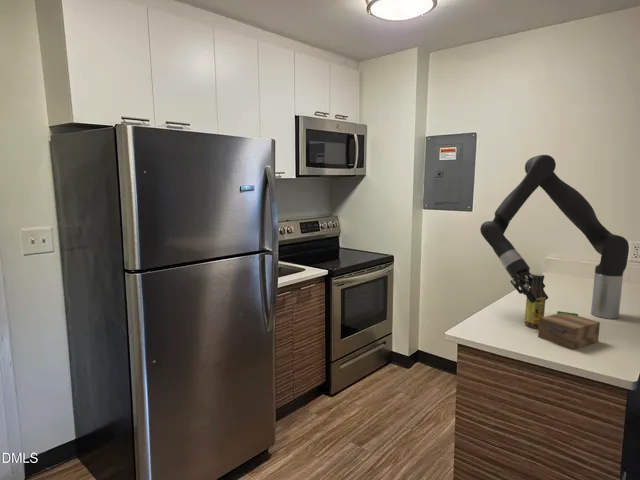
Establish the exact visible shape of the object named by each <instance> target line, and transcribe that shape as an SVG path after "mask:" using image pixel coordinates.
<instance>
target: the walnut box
mask: <svg viewBox="0 0 640 480" xmlns="http://www.w3.org/2000/svg"><path fill="white" fill-rule="evenodd" d="M562 312H563V313H559V314H557V313H555V314H551V315H547V316H544V317H541V318H540V319H539V328H538V333H537V334H538V335H537V338H539V339H543V340H545V341H547V342H551V343H553V344H556V345H559V346H562V347H564V348H566V349H570V350H576V349H579V348H583V347H586V346H589V345H592V344H597V343H599V335H600V327H601V326H600V325H601V323H600V321H597V320H594V319H590V318H586V317H583V316H580V315H578V316H576V315H573V314H569V313H570V312H568V313H566V312H567V311H562Z"/></svg>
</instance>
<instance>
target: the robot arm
mask: <svg viewBox="0 0 640 480" xmlns="http://www.w3.org/2000/svg"><path fill="white" fill-rule="evenodd" d="M556 165H557V164H556V160H555V158H554V157H552V156H551V155H547V154H541V155H540V154H539V155H536V156H533V157H531V158H529V159H528V160H527V161H526V162H525V165H524V171H525V173H526V175H525V176H524V177H523V179H522V180H521V182H520V183H519V184H518V185H517V186H516V187H515V188H514V189H513V190H512V191H511V192H510V193H509V194H508V195H507V196H506V197H505V198H504V199H503V200H502V202H501V203H500V205H498V208H497V209H496V210H495V212H494V218H493V220H488V221H487V220H486V221H485V222H483V223H482V224H481V225H480V231H479V232H480V234H481V235H482V237H483V239H484V240H485V241H486V242H487V243H488V245H489V246H490V247H491V248H492V250H493V252H494V253H495V255H496V256H497V257H498V259H499V261H500V262H501V265H502V266H503V267H504V269H505V270H506V272H507V274H509V276H510V278H511V280H510V281H509V282H510V283H511V285H512V286H513V287H514V288H515V290H516V292H518V294H520V295H522V294H523V296H525V297H526V299H527V298H528V299H529V301H530V302H531V303H534V302H535V301H536V300H537V299H536V298H535V297H534V295H533V294H532V292H530V287H531V286H532V274H533V273H531V272H530V270H531V267H530V266H529V264H528V263H527V262H526V261H525V259H524V258H523V257H522V255H521V254H520V253H519V251H518V250H517V249H516V248H515V247H514V246H513V243H512V242H510V240H509V239H507V237H506V236H505V232H506V230H507V229H508V226H509V224H510V222H511V221H512V220H513V218H514V217H515V216H516V214H517V213H518V212H519V210H520V209H521V208H522V207H523V205H524V204H525V203H526V201H528V199H529V198H530V196H532V194H533V193H534V192H535V191H536V190H537V189H538V188H541V189H542V190H543V191H544V192H545V194H547V196H549V198H550V200H551V201H552V202H553V203H554V204H555V205H556V207H557V208H558V209H559V211H561V212H562V213H563V215H565V217H566V218H567V219H569V221H570V222H571V223H572V224H573V225H574V226H575V227H576V228H577V229H579V231H581V232H582V234H583V235H584V236H585V237H586V239H587V240H588V242H589V243H590V244H591V246H592V248H594V250H595V251H596V252H597V253H598V254H599V255H601V256H600V261H599V264H597V265H595V267H594V268H595V269H594V276H593V277H594V278H593V287H592V300H591V308H590V309H591V310H590V314H591V315H592V316H595V317H598V318H603V319H609V320H610V319H611V320H615V319H619V316H620V309H621V300H622V299H621V298H622V289H623V280H624V279H623V278H624V272H625V270H626V268H627V265H628V259H629V251H630V246H629V245H630V244H629V241H628V240H627V239H626V238H625V237H624V236H621V235H619V234H618V235H617V234H615V233H614V234H613V233H612V232H610V231H609V230H608V229H607V228H606V227H605V226H604V225H603V224H602V223H601V222H600V220H599V219H598V217H597V214H596V212H595V210H594V208H593V207H592V205H591V203H589V200H587V198H585V197H584V196H583V195H582V194H581V193H580V192H579V191H578V190H576V188H574V187H573V186H571V185H569V184H568V183H567V182H565V181H563V180H562V179H561V178H560V177H559V176H558V175H557V174H556V173H555V170H556ZM545 287H546V284H545V283H544V282H543V289H545ZM545 296H546V300H545V301H547V300H548V299H549V296H548V293H546V292H545Z"/></svg>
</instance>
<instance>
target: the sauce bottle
mask: <svg viewBox="0 0 640 480" xmlns="http://www.w3.org/2000/svg"><path fill="white" fill-rule="evenodd" d="M531 274H532V286H531V287H529V289H530V292H532V294H533V295H534V297H535V298H536V299H537V300H536V301H535V302H534V303H531V302H530V301H529V299H528V298H527V297H526V301H525V302H526V303H525V310H524V312H525V313H524V325H525V326H526V327H529V328H532V329H533V328H534V329H539V319H540V318H541V317H545V310H546V309H545V307H546V301H547V300H546V296H545V293H546V291H545V290H544V289H545V288H543V283H544V280H545V274H541V273H531Z"/></svg>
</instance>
